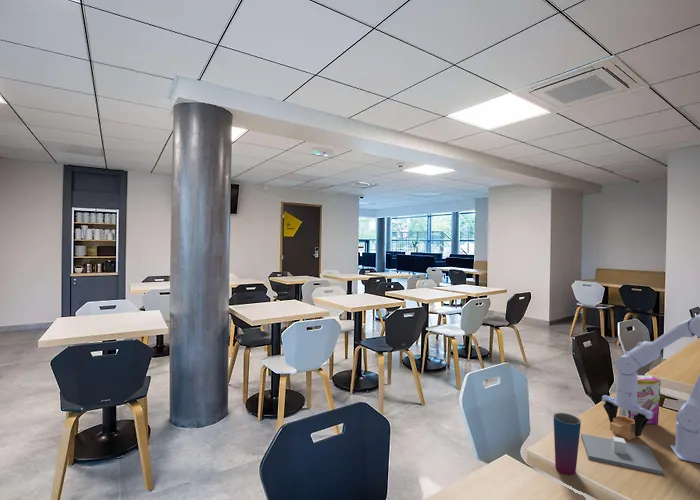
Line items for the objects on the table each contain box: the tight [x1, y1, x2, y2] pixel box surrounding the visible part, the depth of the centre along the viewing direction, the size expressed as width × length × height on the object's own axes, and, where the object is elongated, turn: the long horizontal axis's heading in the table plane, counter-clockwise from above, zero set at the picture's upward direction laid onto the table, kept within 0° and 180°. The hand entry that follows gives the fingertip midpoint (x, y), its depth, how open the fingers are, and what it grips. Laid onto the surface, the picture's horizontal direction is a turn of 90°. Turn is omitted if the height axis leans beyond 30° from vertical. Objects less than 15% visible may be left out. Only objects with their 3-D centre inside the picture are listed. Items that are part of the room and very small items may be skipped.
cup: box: [553, 412, 582, 476], centre depth 107 cm, size 7×7×15 cm
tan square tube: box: [609, 415, 638, 440], centre depth 127 cm, size 9×5×5 cm, turn 116°
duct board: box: [580, 433, 664, 475], centre depth 116 cm, size 18×14×4 cm
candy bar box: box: [618, 374, 662, 425], centre depth 136 cm, size 11×5×16 cm, turn 92°
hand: (625, 430), depth 127 cm, fingers open, 7 cm apart
